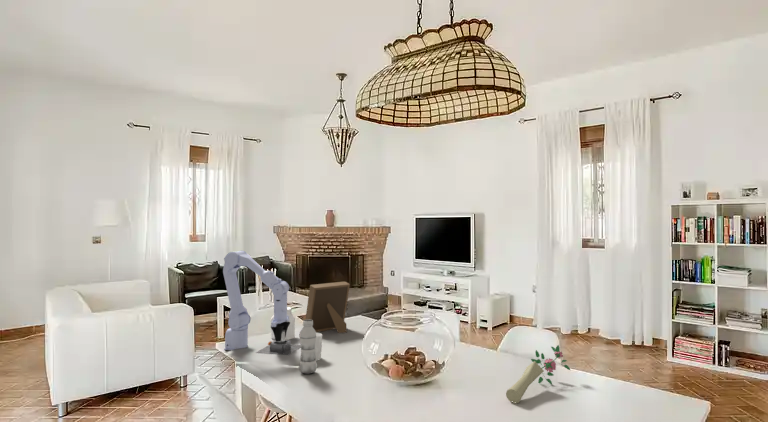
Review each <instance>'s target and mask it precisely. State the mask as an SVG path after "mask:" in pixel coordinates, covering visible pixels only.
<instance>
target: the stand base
mask: <svg viewBox="0 0 768 422" xmlns="http://www.w3.org/2000/svg"><path fill="white" fill-rule="evenodd" d="M298 350H301V344H292V341H291V340H289V339H288V340H285V343H284V344H276V340H275V339H274V341H269V342H268V343H267V346H265V347H262V348H261V349H260V350H258V351H256V352H255V354H264V355H265V354H266V355H279V356H291V355H293V354H294V353H295V352H297V351H298Z"/></svg>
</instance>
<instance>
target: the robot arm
mask: <svg viewBox="0 0 768 422" xmlns="http://www.w3.org/2000/svg"><path fill="white" fill-rule="evenodd" d="M223 260H224V263H223V268H222V274H223V278H224V283H225V288H226V293H227V297H228V302H229V307H230V311H228V312H229V313H228V322H227V323H228V327H229V328H227V329H226V331H225V334H224V348H223V350H225V351H226V350H227V351H233V350H235V349H246V348H248V346H249V345H248V344H249V341H248V340H249V339H248V338H249V335H248V334H249V324H250V323H251V319H252V318H251V316H250V314H249V313H248V309H247V308H246V307H245V306H244V303H243V299H242V293H241V290H240V284H239V281H238V275H237V271H238V270H239V269H240V268H241V267H247V268H248V269H249V270H251V271H252V272H254V273H255V274H257V275H258V276H259V277H260V278H259V279H260V282H262V283H263V284H264V285H265V286H266V287H268V288H269V289H270V290H271V293H272V295H273V315H274V319H273V321H272V322H271V321H270V330H271V329H272V330H273V333H274V336H275V339H274V341H275V340H276V341H281V336H282V330H285V336H286V332H287V329H288V326H289V324H290V322H287V321H289V316H287V307H288V292H289V291H290V285H289V283H288V281H285V280H282V278H279V277H278V276H276V275H275V274H274V273H275V272H274V271H273V270H272V271H271V270H266V269H264V268H263V267H262V266H261V265H260V264H259V263H257V261H256V260H255V259H254V258H252V256H251V255H250V254H249V253H247V252H246V251H245V250H238V251H230V252H228V253H227V254H226V255H225V256H224V258H223Z"/></svg>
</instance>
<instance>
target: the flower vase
mask: <svg viewBox="0 0 768 422" xmlns="http://www.w3.org/2000/svg"><path fill="white" fill-rule="evenodd" d="M550 348H551V350H552V351H553V352H554V353H553V354H554V356H555V358H554V359H553V358H550V357H548V358H546V359H545V355H544V353H543V352H541V354H540V353H539V351H538V350H537V349H535V357H536V358H537V359H534V358H530V360H531V363H530V364H529V365H527V366H526V368H525V369H524V372H523V374H522V375H521V376H520V378H519V379H518V380H517V381H516V382H515V383H514V384H513V385H512V386H511V387H509V388H508V389H507V390H506V392H505V397H506V399H507V400H508V401H510V402H511V401H513V402H516V403H515V404H518V403H520V401H521V400H522V398H523V397H524V395H525V393H526V391H527V389H528V388H529V387H530V385H531V384H533V382H535V381H536V380H537V379H538V383H539V384H541V383H542V382H543V380H544V378H545V381H547V382H548V384H550V385H553V381H552V380H551V379H550V378H546V377H545V372H544V371H546V372H547V373H546V376H550V377H553V376H554V374H553V373H554V371H556V368H557V364H559V365H562V366H563V367H564V368H565V369H567V370H569V371H571V369H570V366H569V365H567V364H564V365H563V364H562V363H564V362H568V360H566V359H563V360H561V362H559V361H558V362H557V361H555V360H557V359H561V358H563V357H564V354H563V352H562V351H561V349H560V348H561V347H560V345H559V344H558V345H556V347H554V346H552V345H550ZM540 356H541V357H540ZM539 357H540V358H541V359H540V358H539ZM542 360H544V362H543V363H542ZM556 363H557V364H556ZM541 375H543V376H544V378H543V376H541Z"/></svg>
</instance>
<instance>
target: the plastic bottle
mask: <svg viewBox="0 0 768 422" xmlns="http://www.w3.org/2000/svg"><path fill="white" fill-rule="evenodd" d="M302 326H303V327H302V328H301V330H300V332H299V335H298V336H299V345H301V348H300V360H299V367H298V368H299V372H301V373H302V374H307V375H308V374H314V373H315V372H316V371H317V366H318V364H317V360H316V357H315V342H316V333H317V332H316V331H315V330H314V328H313V327H312V326H313V320H305V319H304V320H302Z"/></svg>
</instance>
